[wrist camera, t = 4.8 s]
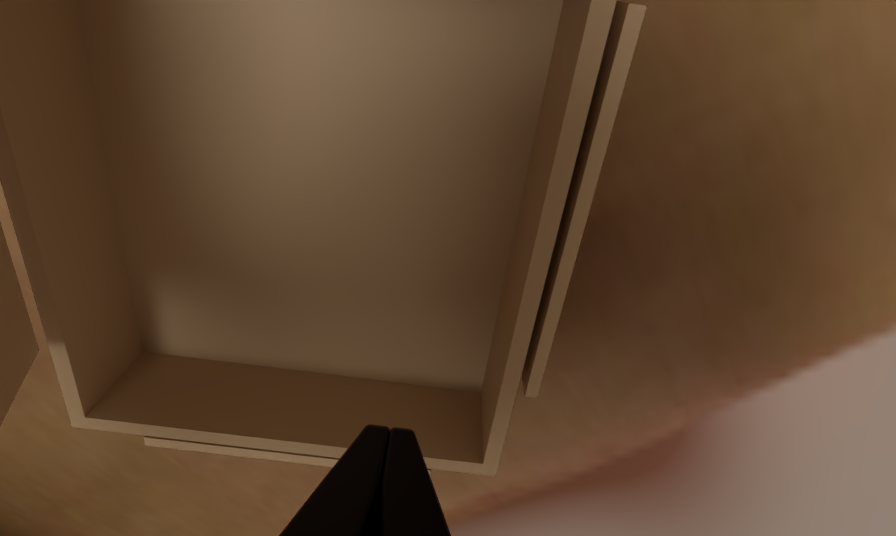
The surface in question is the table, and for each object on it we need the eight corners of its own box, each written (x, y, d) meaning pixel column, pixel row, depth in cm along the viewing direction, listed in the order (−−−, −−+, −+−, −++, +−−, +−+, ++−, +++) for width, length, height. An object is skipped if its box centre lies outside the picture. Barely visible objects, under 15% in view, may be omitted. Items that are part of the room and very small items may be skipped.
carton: (505, 412, 17) (512, 492, 14) (139, 368, 16) (76, 442, 14) (645, -161, 10) (710, -211, 7) (17, -263, 9) (-156, -355, 7)
